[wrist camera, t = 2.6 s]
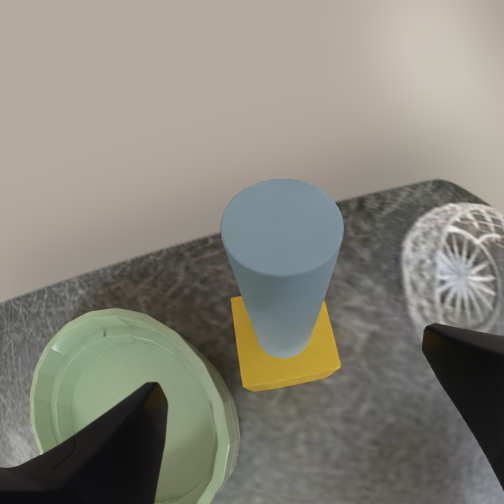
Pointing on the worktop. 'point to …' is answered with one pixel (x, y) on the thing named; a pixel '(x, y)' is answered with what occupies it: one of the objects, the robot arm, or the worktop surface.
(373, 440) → the worktop surface
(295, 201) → the sponge wand
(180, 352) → the bowl
